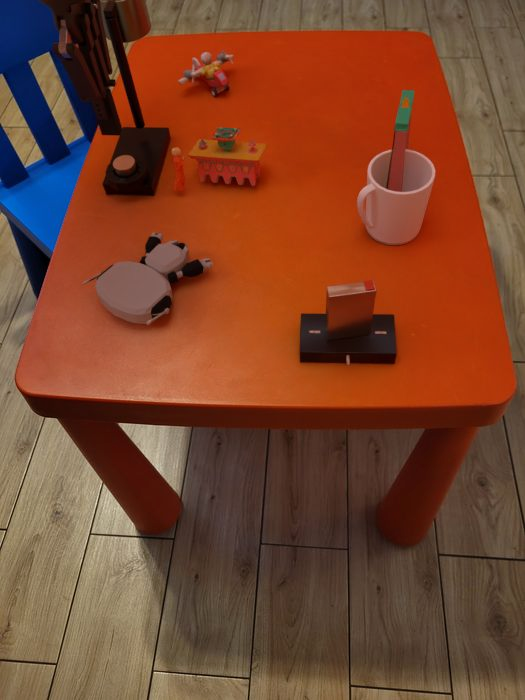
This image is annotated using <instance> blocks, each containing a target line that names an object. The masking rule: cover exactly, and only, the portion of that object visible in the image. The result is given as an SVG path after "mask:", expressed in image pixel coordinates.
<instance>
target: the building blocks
mask: <svg viewBox="0 0 525 700" xmlns="http://www.w3.org/2000/svg"><path fill="white" fill-rule="evenodd" d="M414 100H415V90H413V89H402V91H401V97H400V100H399V105H398V109H397V114H396V118H395V124H394V128H393V131H394V132H393V138H392V139H393V140H392V147H391V150H393V154H392V153H391V156H392V161H391V160H390V163H391V169H390V167H389V169H390V176H389V183H388V190H391V191H395V192H402V184H403V171H404V159H405V149H408V150H409V143H410V132H411V121H412V110H413V105H414ZM241 131H242V128H238V127H222V126H218V127H217V128H216V130H215V131H214V133H212V135H211V137H210V138H211V139H200V138H199V139H198V140H197V141H196V142H195V144H194V145H193V147H192V148H191V150H189V152H188V154H187V157H189V158H190V159H192V160H196V161H197V165H198V172H199V180H200V182H201V183H205V182H206V180H207V177H208V176H209V177H210V179H211V182H212V184H217V183H218V182H219V180H220V177H222V179H223V181H224V183H225V184H226V185H230V184H231V182H232V180H233V178H235V180H236V182H237V184H238V185H239V186H243V185H244V183H245V181H246V179H248V181H249V183H250V186H251V187H255V186H256V184H257V180H259V178H260V177H261V167H260V159H261V157H262V155H263V154H264V152H265V150H266V148H267V146H268V143H263V142H261V143H259V142H256V141H254V140H250V141H249V142H245V141H236V138H238V136H239V134H240V133H241ZM181 153H182V150H181V148H179V147H177V146H175V147H173V148H172V149H171V155H172V162H173V164H174V171H175V179H174V180H175V181H174V183H173V190H175V191H184V190H185V180H186V179H185V171H184V168H183V166H184V164H185V158H186V157H185V155H182V154H181ZM181 155H182V156H181ZM388 175H389V173H388ZM387 180H388V179H387Z"/></svg>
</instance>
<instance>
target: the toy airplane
mask: <svg viewBox="0 0 525 700" xmlns="http://www.w3.org/2000/svg"><path fill="white" fill-rule="evenodd" d="M234 58H235V55H234V54H229V53H227V52H226V51H225V50H224V49H222V50H221V52H220V53H218V54H217V55H216V60H215V61H213V56H212V53H210V52H208V51H204V52H202V53H201V55H200V61H201V63H202V64H201V63H200V61H199V60H198V59H197V58H196V57H192V58H191V61H192V65H191V67H192V69H186V70H185V71H183V73H182V76H183V77H181V78H179V79H178V80H177V81H178V84H179V85H183V84H186V83H188V82H190V81H191V84H192V85H194V84H195V79H196V78H199V79H201V80H202V81H204V82H205V83H206V84H207V85H208V86H209V87H211V90H210V92H211V95H212V96H213V97H214V98H216V97H217V96H218V94H219V93H221V92H224V91H229V90H230V85H229V84H230V82H229V79H228V78H227V75H226V73H225V72H224V71H223V70H222V68H221V66H222V65H223V64H225V63H228V62H229V63H230V65H234V62H233V59H234Z"/></svg>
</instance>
